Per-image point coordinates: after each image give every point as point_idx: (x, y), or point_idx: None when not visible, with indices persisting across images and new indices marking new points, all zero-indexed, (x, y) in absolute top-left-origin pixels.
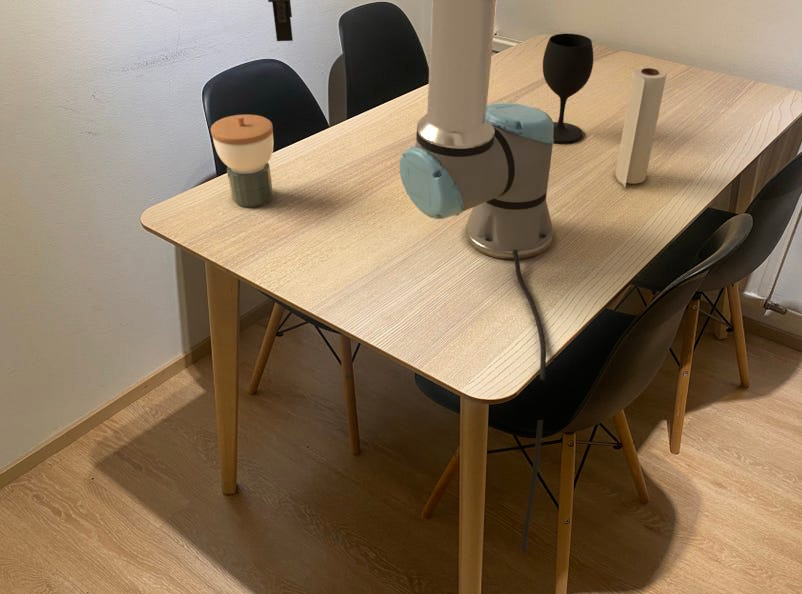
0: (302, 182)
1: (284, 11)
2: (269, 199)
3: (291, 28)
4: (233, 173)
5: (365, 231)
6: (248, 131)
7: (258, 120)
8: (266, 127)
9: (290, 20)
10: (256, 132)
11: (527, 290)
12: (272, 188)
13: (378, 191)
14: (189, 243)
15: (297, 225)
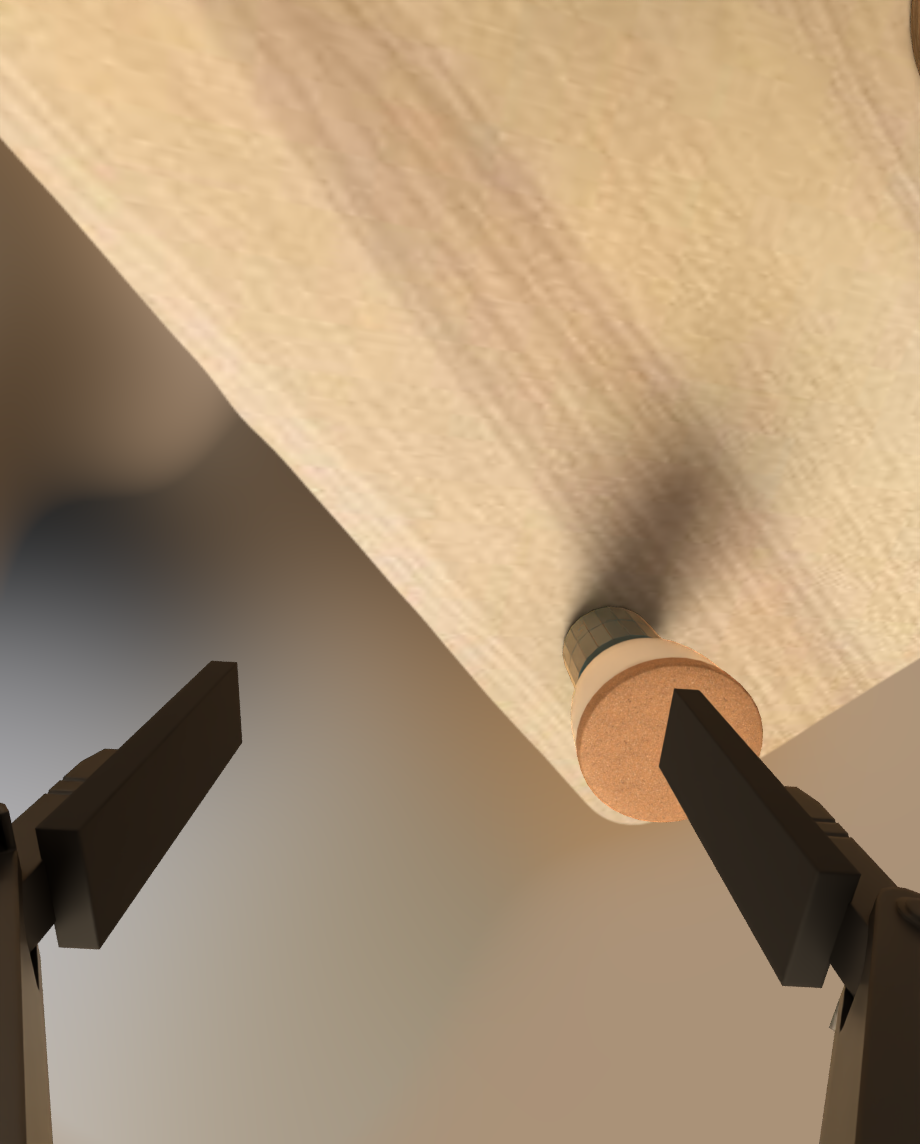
0: (554, 534)
1: (856, 854)
2: (640, 616)
3: (704, 723)
4: None
5: (840, 410)
6: None
7: (649, 703)
8: (708, 683)
9: (762, 762)
10: (737, 712)
11: None
12: (616, 611)
13: (653, 343)
14: None
15: (756, 562)
